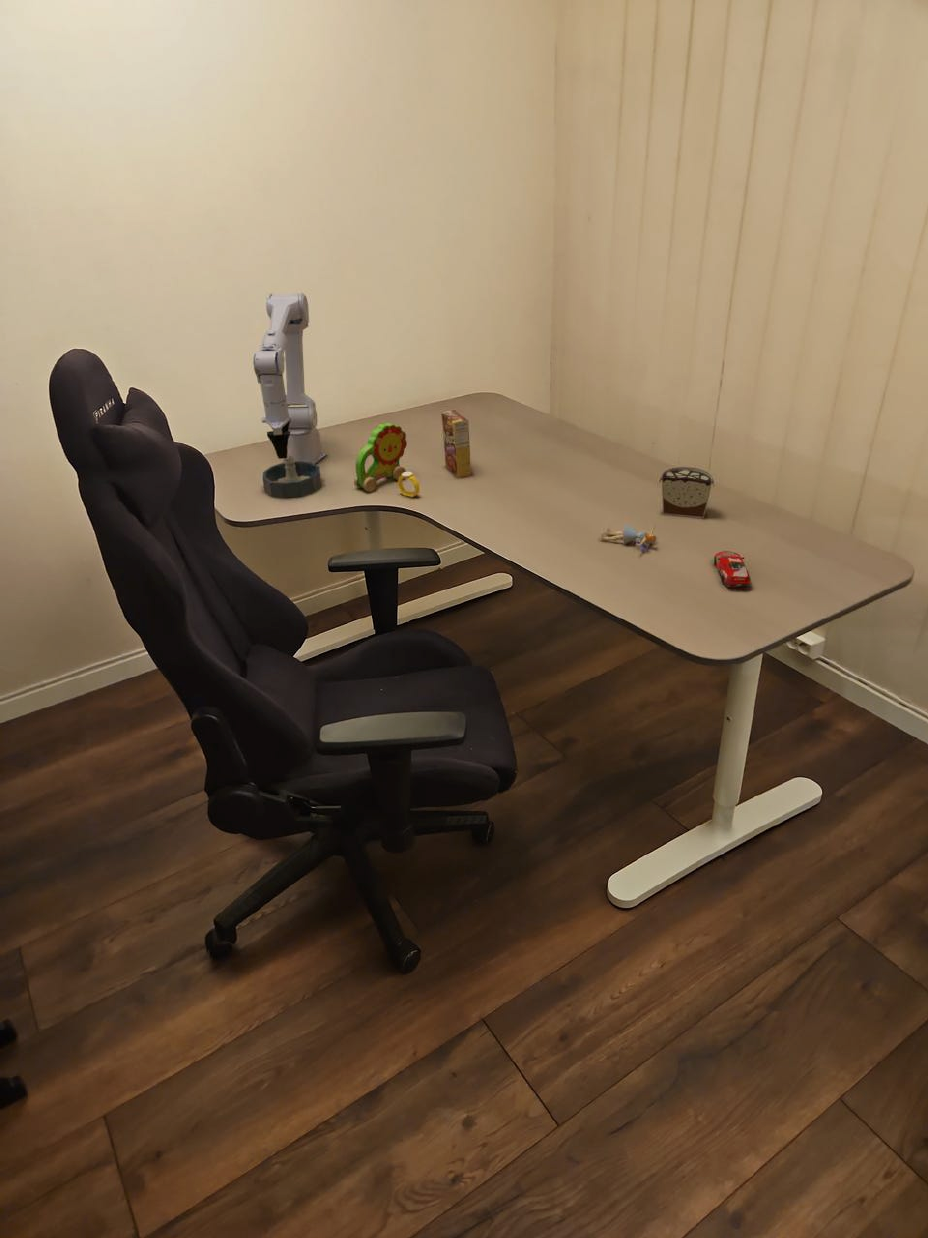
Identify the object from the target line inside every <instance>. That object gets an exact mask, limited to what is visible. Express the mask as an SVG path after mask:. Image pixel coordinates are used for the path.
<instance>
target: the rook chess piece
mask: <svg viewBox="0 0 928 1238" xmlns="http://www.w3.org/2000/svg"><path fill="white" fill-rule="evenodd" d="M291 457H292V458H291ZM295 461H296V460H295V459H294V457H293V456H290V455H288V457H287V458H283V461H282V463H284V464H285V468H286V478H285V481H284V483H287V482H297V481H301V480H300V478H299V477H300V476H297V473H296V470H295V467H296V466H295V464H294V463H295Z"/></svg>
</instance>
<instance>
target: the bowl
mask: <svg viewBox="0 0 928 1238" xmlns="http://www.w3.org/2000/svg"><path fill="white" fill-rule="evenodd" d="M294 464H295V466H296V467H295V470H296V473H297V476H298V477H299V478H300V480H301V481H297V482H287V483H284V481H285V478H286V468H285V464H284V463H283V462H281V463H277V464H274V465H272V466H270V467H267V469H265V470H264V471H263V472H262V478H261V479H262V485H263V490H264V493H266V494H267V495H268V496H270V497H272V498H279V499H293V498H294V499H295V498H302V497H305V496H308V495H311V494H314V493H316V491H318V490H319V489H320V488H322V477H321V469H320V466H319V465H317V464H316V463H315V464H313V463H311V462H302V461H295V463H294Z"/></svg>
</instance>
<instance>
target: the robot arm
mask: <svg viewBox="0 0 928 1238" xmlns="http://www.w3.org/2000/svg"><path fill="white" fill-rule="evenodd" d="M265 308H266V313H267V316H268V318H269V319H270V322H269V323H270V324H269V329H267V330H266V331H265V332H264V333H263V336H262V340H261V344H260V348H259V351H257V352H256V353H254V355H253V359H252V361H253V363H252V364H253V370H254V374H255V375H256V380H257V383H258V384H259V385H260V392H261V396H262V402H263V409H264V415H265V416H264V417H262V418H261V419H260V420H261V423H263V424H264V423H266V424H267V425H268V426H269V427H270V428H271V431H267V432H266V436H267V438H268V439H269V441H270V442H271V444H272V446H273V447H274V450H275V454H276V456H277V458H278V459H279V460H281V459H283V460H284V458H288V453H289V456H293V457H294V459H295V460H296V461H302V462H311V463H313V464H315V465H316V463H318V462H319V461H320V460H322V459H323V458H324V457H326V453H323V447H322V441H321V434H320V431H319V430H318V428H317V426H318V412H317V407H316V406H317V405H316V402H315V400H314V399H313V398H311V397H310V396H309V395H307V394H306V392H305V391H306V389H305V370H304V368H305V367H304V344H303V343H304V342H303V336H304V335H303V334H304V330H305V329H307V328H309V323H310V315H309V312H310V311H309V302H308V298H307V296H306V295H305V293H303V292H300V293H278V294H277V293H268V294H267V296H266V299H265ZM284 374H285V380H286V382H285V380H284ZM285 383H286V385H285ZM291 458H292V457H291Z"/></svg>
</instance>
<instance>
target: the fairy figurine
mask: <svg viewBox="0 0 928 1238" xmlns="http://www.w3.org/2000/svg"><path fill="white" fill-rule="evenodd" d="M655 529H656V524H654V525H653V528H652V530H651V531H650V532H649V533H647V532H646V531H641V532H639V530H637V529H636V528H634V527H633V526H631V525H630V524H626V525H625V527H624V528H623V531H612V530H611V528H610V526H609V525H608V526H606V534H607V535H608V536H606V535H605V532H604V531H601V533H600V535H601V541H611V542H615V541H618V540H621V539H622V541H623V544H625V545H626V544H628V543H631V542H634V541H635V540H636V544H635V548H640V549H641V550H642V551H643V552H644V553H646V550H648V545H649V544H648V543H651V544H655V541H656V539H657V538H656V535H655V534H654V530H655ZM637 539H638V540H637ZM643 546H644V547H643Z"/></svg>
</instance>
